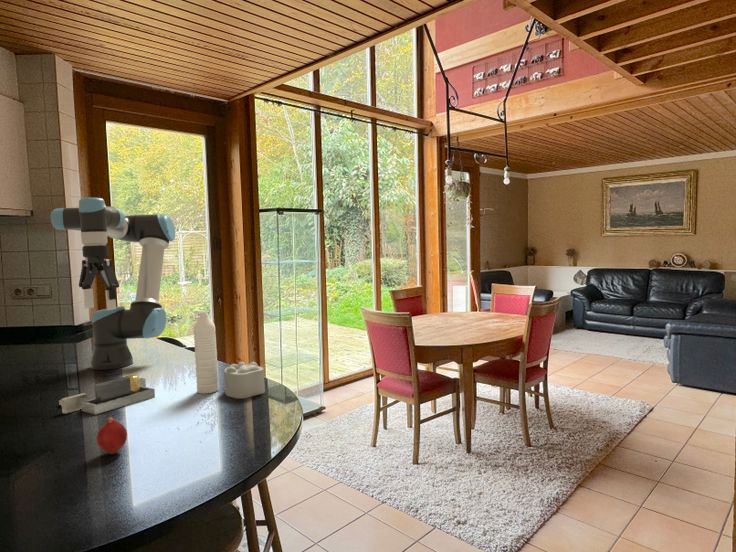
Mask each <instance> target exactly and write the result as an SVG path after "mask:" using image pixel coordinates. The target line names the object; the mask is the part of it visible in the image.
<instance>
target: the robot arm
mask: <svg viewBox="0 0 736 552" xmlns="http://www.w3.org/2000/svg"><path fill="white" fill-rule="evenodd" d="M50 222H51V225H52V227H53V228H54V229H56V230H58V231H60V230H61V231H68V230H71V231H79V232H80V238H81V244H82V247H81V249H82V257H83V258H86V259H82V260H81V271H80V275H79V276H80V277H79V281H78V287H79V288H81V289H82V290H83V302H84V309H86V310H87V309H92V308H93V309H94V308H95V305H94V304H95V302H94V290H93V286H92V285H93V282H94V280H95V277H96V275H97V276H98V275H99V277H100V279H101V280H102V283H103V284H104V286H105V288H104V290H105V301H106V308H103V309H100V310H99V309H98V310H95V311H94V312H93V313H92V316H91V325H92V337H93V352H92V355H91V359H90V362H89V367H90V369H91V370H93V371H97V370H98V371H101V370H102V371H104V370H105V371H106V370H114V369H120V368H124V367H128V366H131V365H132V364H134V360H133V359H134V358H133V355H132V353H131V351H130V349H129V345H128V342H127V341H128V339H130V340H131V339H133V340H134V339H151V338H157V337H159V336H161V335H162V334H163V332H164V330H165V328H166V324H167V313H166V310H165V309H164V308H163V306H162V304H161V303H160V302H159V299H160V290H161V281H162V274H163V265H164V257H165V256H164V255H165V250H166V249H168V248H169V246H170V242H173V241H175V239H176V228H175V225H174V222H173V220H172V217H171V216H170V215H168V214H165V213H164V214H160V213H157V214H134V215H125V214H124V212H123V211H122V210H121V209H120V208H118V207H114V206H106V203H105V200H104V199H103V198H101V197H82V198H80V199H79V201H78V207H61V208H59V207H58V208H54V209H53V210H52V211H51V213H50ZM108 237H109V238H110V239H114V240H118V241H125V242H129V243H139V245H140V246H141V255H140V263H139V270H138V278H137V286H136V287H137V288H136V293H135V300H133V301H132V302H131V303H130V306H129V307H130V308H129V309H126V308H125V306H124V305H121V306H117V302H116V289H118V288H119V287H120V284H119V280H118V278H117V275H116V273H115V270H114V266H113V260H112V259H111V258H110V259H109V258H108V259H106V258H107V257H109V255H110V252H109V246H108V245H107V244H108V241H109V240H108Z"/></svg>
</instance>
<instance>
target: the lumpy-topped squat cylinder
mask: <svg viewBox="0 0 736 552" xmlns="http://www.w3.org/2000/svg"><path fill="white" fill-rule="evenodd" d="M223 370H224V371H223V377H224V378H223V379H224V393H225V395H226V396H227V397H230V398H232V399H239V400H240V399H247V398H250V397H255V396H258V395H262V394H264V393H265V392H266V390H265V389H266V388H265V387H266V386H265V368H264V367H261V366H259V365H258V363H257V362H255V361H251V362H249V363H248V364H246V362H244V361H239V362H238V363H236V364H235V363H231V364H230V366H227V367H226V368H225V369H223Z"/></svg>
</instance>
